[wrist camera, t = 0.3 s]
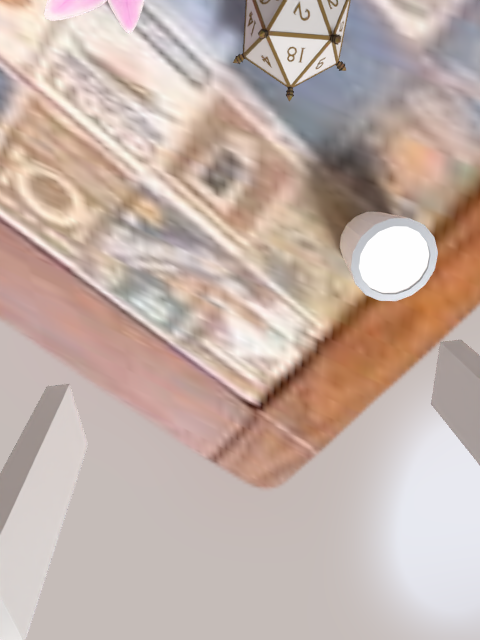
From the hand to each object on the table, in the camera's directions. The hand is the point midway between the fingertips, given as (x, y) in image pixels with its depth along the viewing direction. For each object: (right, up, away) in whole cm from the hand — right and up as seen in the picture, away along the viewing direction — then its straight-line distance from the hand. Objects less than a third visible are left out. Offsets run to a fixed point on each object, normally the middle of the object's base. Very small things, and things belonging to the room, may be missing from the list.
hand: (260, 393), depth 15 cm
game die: (+3, +25, +19) cm, 32 cm away
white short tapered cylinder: (+11, +10, +25) cm, 30 cm away
